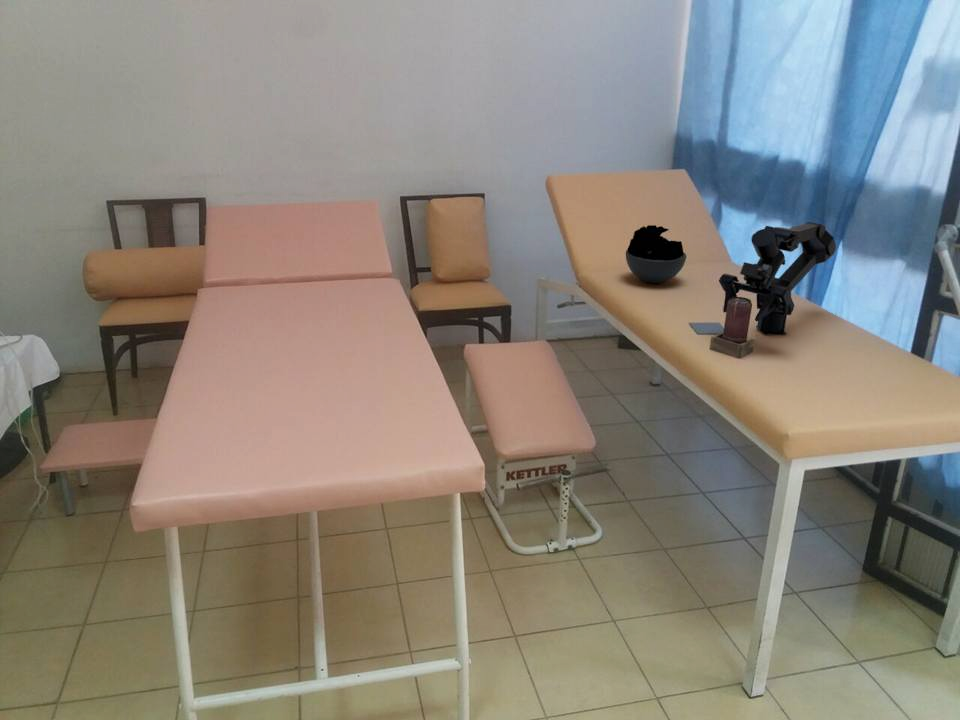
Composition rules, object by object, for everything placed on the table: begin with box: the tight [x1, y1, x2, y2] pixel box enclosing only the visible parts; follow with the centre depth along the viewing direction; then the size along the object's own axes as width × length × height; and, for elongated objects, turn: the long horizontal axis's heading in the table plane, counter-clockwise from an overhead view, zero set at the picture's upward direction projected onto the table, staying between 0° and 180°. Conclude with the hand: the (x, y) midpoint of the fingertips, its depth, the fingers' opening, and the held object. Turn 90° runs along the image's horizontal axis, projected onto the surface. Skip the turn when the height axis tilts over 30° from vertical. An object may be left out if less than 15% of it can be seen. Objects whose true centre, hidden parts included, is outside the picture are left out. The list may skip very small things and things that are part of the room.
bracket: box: [709, 331, 756, 359], centre depth 208 cm, size 7×9×4 cm
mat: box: [688, 322, 724, 335], centre depth 223 cm, size 9×9×1 cm
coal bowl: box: [625, 224, 687, 284], centre depth 262 cm, size 20×20×19 cm
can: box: [723, 296, 753, 344], centre depth 206 cm, size 6×6×14 cm
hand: (739, 316), depth 206 cm, fingers open, 9 cm apart
